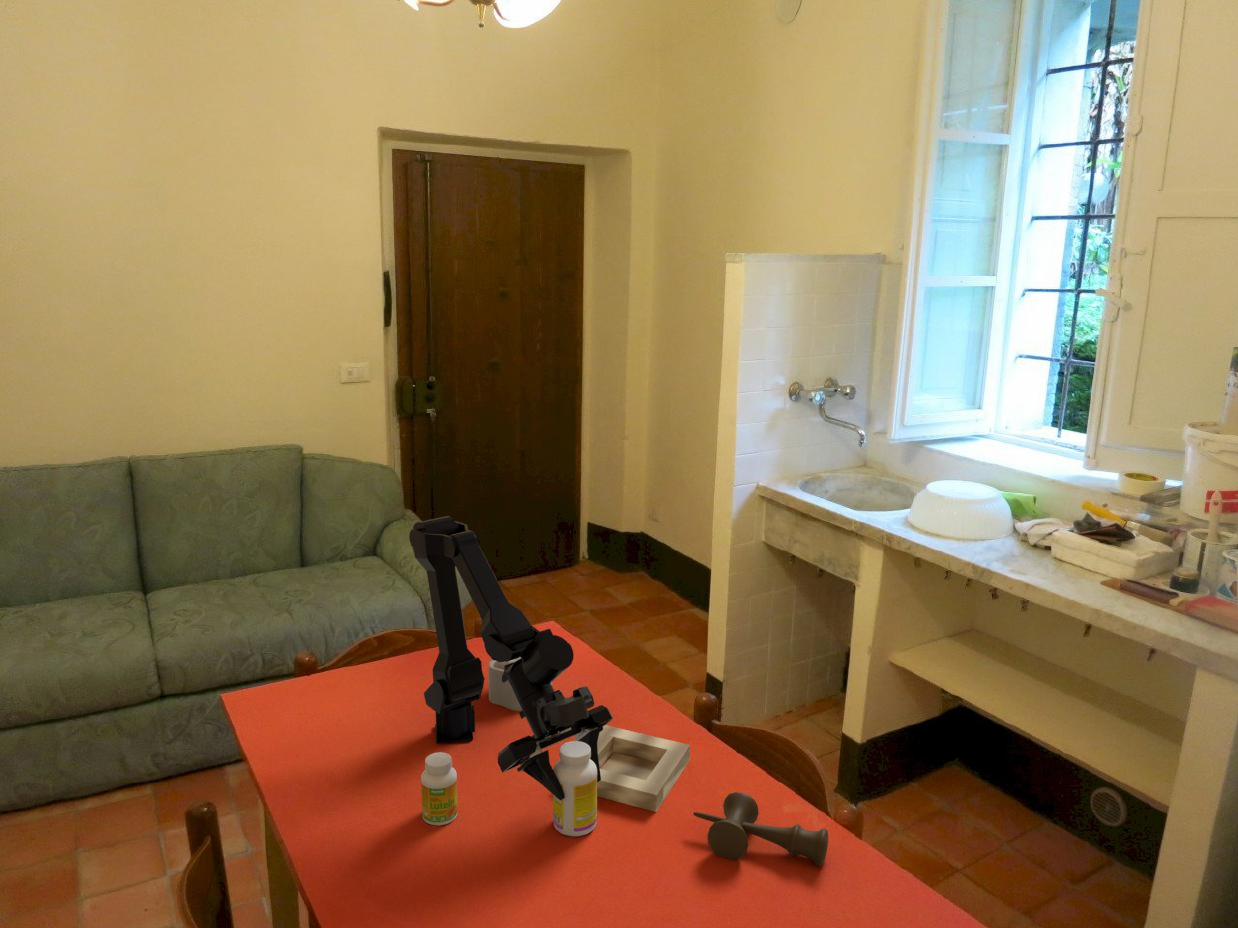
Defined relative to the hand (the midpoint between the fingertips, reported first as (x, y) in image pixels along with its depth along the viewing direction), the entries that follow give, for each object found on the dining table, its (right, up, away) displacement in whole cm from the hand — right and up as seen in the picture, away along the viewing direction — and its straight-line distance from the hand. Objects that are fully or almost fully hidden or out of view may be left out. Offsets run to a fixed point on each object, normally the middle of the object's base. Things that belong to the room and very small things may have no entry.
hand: (581, 790), depth 138 cm
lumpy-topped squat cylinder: (-13, +4, +43) cm, 45 cm away
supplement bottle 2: (-1, -6, +3) cm, 7 cm away
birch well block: (+7, -3, +16) cm, 18 cm away
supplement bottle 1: (-22, -6, +4) cm, 23 cm away
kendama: (+26, -8, -1) cm, 27 cm away
